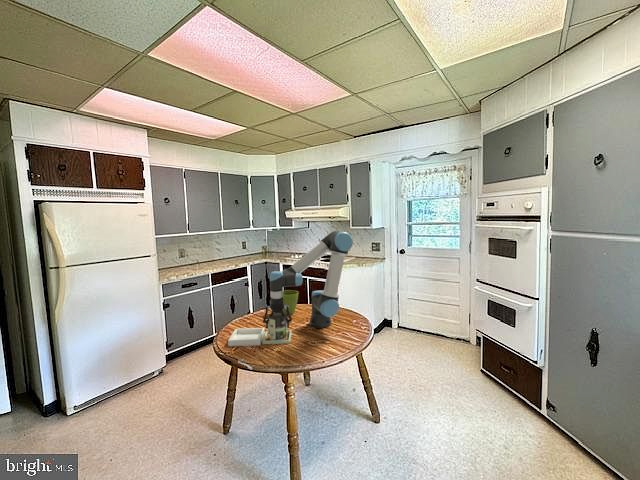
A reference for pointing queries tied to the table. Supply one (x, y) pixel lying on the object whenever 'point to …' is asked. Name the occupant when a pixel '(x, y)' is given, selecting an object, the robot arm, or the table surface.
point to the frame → (277, 340)
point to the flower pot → (290, 300)
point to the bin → (247, 337)
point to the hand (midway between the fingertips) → (277, 333)
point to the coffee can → (277, 326)
